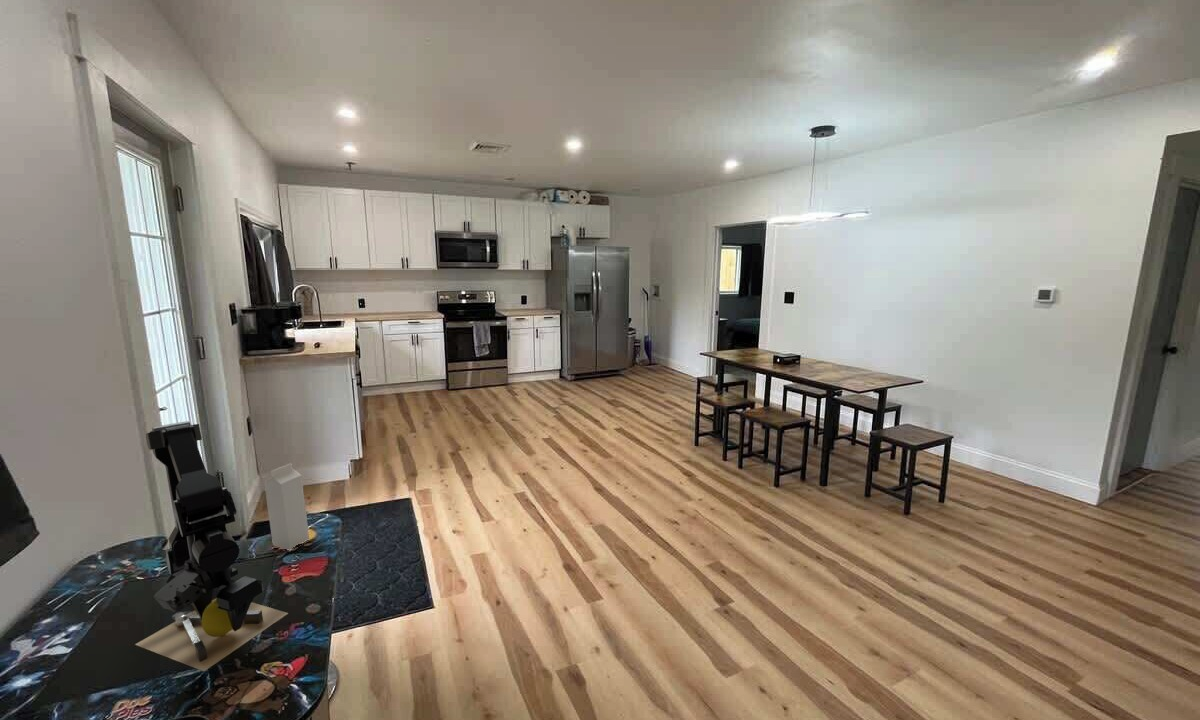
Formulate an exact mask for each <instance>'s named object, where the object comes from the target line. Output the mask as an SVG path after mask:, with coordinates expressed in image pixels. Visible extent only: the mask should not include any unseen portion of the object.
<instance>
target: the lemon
mask: <svg viewBox="0 0 1200 720" xmlns="http://www.w3.org/2000/svg"><path fill="white" fill-rule="evenodd" d="M217 607H219V605H218V603H217V601H216V600H215V601H213V602H211V603H210V604H209V605H208V606H207V607H206V608H205V610H204V612H203V615H202V627H203V630H204V631H205V633H206V634H208V635H209V636H213V637H219V636H221V637H223V636H225V635H226V634H227V633H228V632H230V631H231V630H232V629H233V628H232V626H231V623H230V620H229V617H228V614H227V611H224V610H221V609H218V608H217Z"/></svg>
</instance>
